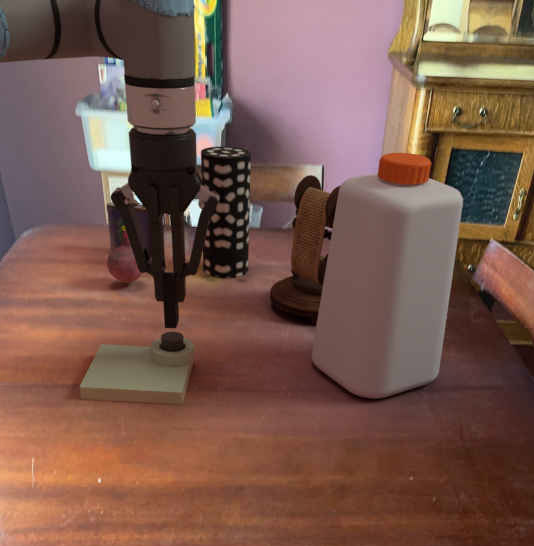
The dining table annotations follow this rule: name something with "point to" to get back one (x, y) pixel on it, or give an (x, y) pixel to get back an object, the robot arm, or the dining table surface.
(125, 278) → the vegetable
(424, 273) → the plastic bottle
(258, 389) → the dining table surface
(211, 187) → the white-spotted black cylinder
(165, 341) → the button
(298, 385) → the dining table surface
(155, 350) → the scale
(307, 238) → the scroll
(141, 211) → the flask
